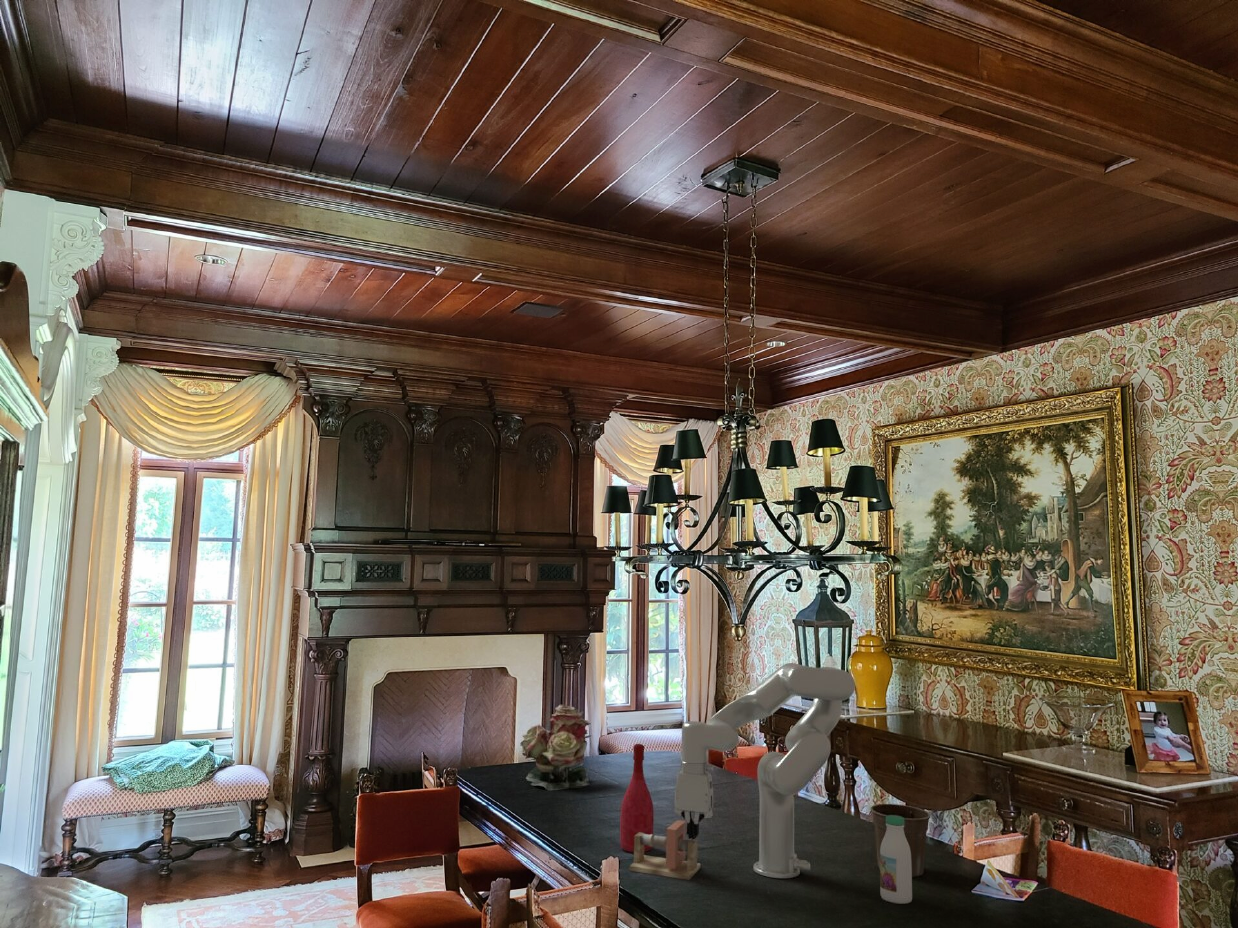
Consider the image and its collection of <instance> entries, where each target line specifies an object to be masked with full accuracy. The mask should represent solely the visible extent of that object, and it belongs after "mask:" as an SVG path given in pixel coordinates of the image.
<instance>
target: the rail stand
mask: <svg viewBox="0 0 1238 928" xmlns="http://www.w3.org/2000/svg"><path fill="white" fill-rule="evenodd" d="M644 845H648V846H650V847H652V848H653V847H656V848H664V849H666V836H663V835H662V836H661V835H656V834H653V835H652V834H650V835H648V834H645V833H642V832H639V833H638V834H636V835H635V837H634V853H633V862H632V863H631V864H630V865H629V868H628V870H629V871H630V872H636V873H642V874H648V875H649V874H650V875H654V876H655V875H656V876H662V877H668V878H675V879H681V880H688V881H690V880H691V879H692V878H693V877H694V876H695V874H696V873H697V872H698V871H699V870H700V869H701V863H700V862H698V839H692V838H691V839H686V840H684V839H678V850H683V851H685V852H687V859H686V860H683V861H682V862H681V863H680V864H679V865H678V866H677V867H676V868H675V869H671V868H666V857H660V856H652V855H646V854H645V852H644Z"/></svg>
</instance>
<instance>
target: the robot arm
mask: <svg viewBox="0 0 1238 928" xmlns="http://www.w3.org/2000/svg"><path fill="white" fill-rule="evenodd" d="M854 679H855V678H854V677H853V676H852V675H851V674H850V673H849V672H848V671H846V670H843V669H839V668H836V667H833V666H832V667H831V666H821V667H816V666H815V667H814V666H808V665H804V664H798V663H793V662H788V663H784V664H782V665H781V666H780V667H778V668H777V669H776V670H774V671H773V672H772V673H771V674H770V675H768V677H766V678H765V679H764V680H763V681H762V682H760V683H759V684H758V685H757V686H755V687H754V688H753V689H752V690H750V691H749V692H747V693H745V694H743V695H741V696H740V697H738V698H736V699H734V700H733V701H731V702H730V703H728V704H726V705H724V706H723V707H722V708H721V709H720V710H719V711H717V712H716V713H715V714H713V716H711V717H710V718H709V719H708V720H707V721H706V722H702V721H696V720H691V721H685V722H684V723H683V724H682V726H681V747H680V748H681V750H680V751H681V755H680V771H679V770H678V773H677V776H676V777H677V778H676V785H675V792H674V809H673V812H674V813H675V814H676V815H679V816H681V817H682V818H683V819H684V821H686V835H688V837H687V838H688V839H687V840H692V839H693V840H696V838H697V837H698V836H699V834H700V831H699V830H700V822H701V821H702V820H704V819H709V818H710V819H711V818H713V808H714V788H713V779H712V773H710V771H711V772H713V771H714V765H711V764H710V762H709V750H712V751H718V752H729V751H732V750H734V749H735V748H736V747H737V746H738V743H739V738H740V737H739V733H738V729H740V728H742V727H743V726H745V725H746V724H748V723H752V722H754V721H759V720H763V719H765V718H769V717H770V716H772V715H774V713H775V712H777V711H778V710H779V709H780V708H781V707H783V706H784V705H785V704H786V703H788V702H789V701H790V700H791V699H793V698H794V697H795V696H797V697H800V698H801V697H802V698H808V699H813V701H812V703H811V705H810V707H809V708H808V709H807V710H806V712H805V713H804V715H803V716H802V717H801V718H800V719H799V720H798V721H797V722H796V724H794V725H793V727H792V728H791V729H790V730H789V731H788V733H787V734H786V736H785V740H784V743H785V744H784V745H785V747H786V750H787V751H788V752H787V753H786V754H784V753H782V752H779V751H770V752H767V753H765V754H764V755H763V756H762V757H761V758H760V760H759V761H758V765H757V783H758V789H759V790H758V791H759V825H758V826H759V829H758V830H759V834H758V835H759V839H758V840H759V844H758V845H759V849H758V852H759V853H758V855H759V856H758V857H759V858H758V859H759V860H757V861H756V862H754V864H753V871H754V872H755V873H757V874H758V875H761V876H764V877H768V878H772V879H792V878H795V877H798V876H799V875H800V873H801V871H800V870H805V871H810V870H811V863H810V862H808V860H804V859H799V858H797V855H798V854H797V853H795V798H794V795H797V794H798V793H800V792H801V791H802V790H804V789H805V787H806V786H807V785H808V784H809V783H810V781H811V780H813V778H814V777H815V776H816V774H817V773H818V772H819V771H820V769H822V768H823V766H824V765H825V764H826V763H827V761H828V759H829V757H830V754H831V748H832V747H831V741H830V739H829V737H828V736H829V735H830V734H831V732H832V731H833V730H834V728H836V726H837V724H838V723H839V721H840V719H841V715H842V708H843V701H846V700H848V699H850V698H851V697H852V696H853V694H854V692H855V690H856V683H855V680H854ZM693 813H694V819H693Z"/></svg>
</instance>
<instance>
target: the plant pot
mask: <svg viewBox="0 0 1238 928" xmlns="http://www.w3.org/2000/svg"><path fill="white" fill-rule="evenodd" d="M870 811H871V813H872V822H873V825H874V830H875V831H874V833H875V843H876V845H875V846H876V857H877V866H878V869H879V870H880V848H881V843H882V840H883V838H884V836H885V833H886V829H887V825H886V816H888V815H897V816H901V817H903V818H904V828H903V830H904V834H905V837H906V839H907V842H908V844H909V847H910V851H911V867H912V878H917V877H920V876H922V875H924V871H925V870H924V867H925V855H926V844H927V831H928V830H929V823H930V819H931V817H932V816H931V815H932V814H931V813H930V812H929V811H927V810H926V809H925V810H924V809H922V808H919V807H915V806H910V805H905V804H897V803H896V804H895V803H881V804H880V803H879V804H874V805H871V807H870ZM916 876H917V877H916Z"/></svg>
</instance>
